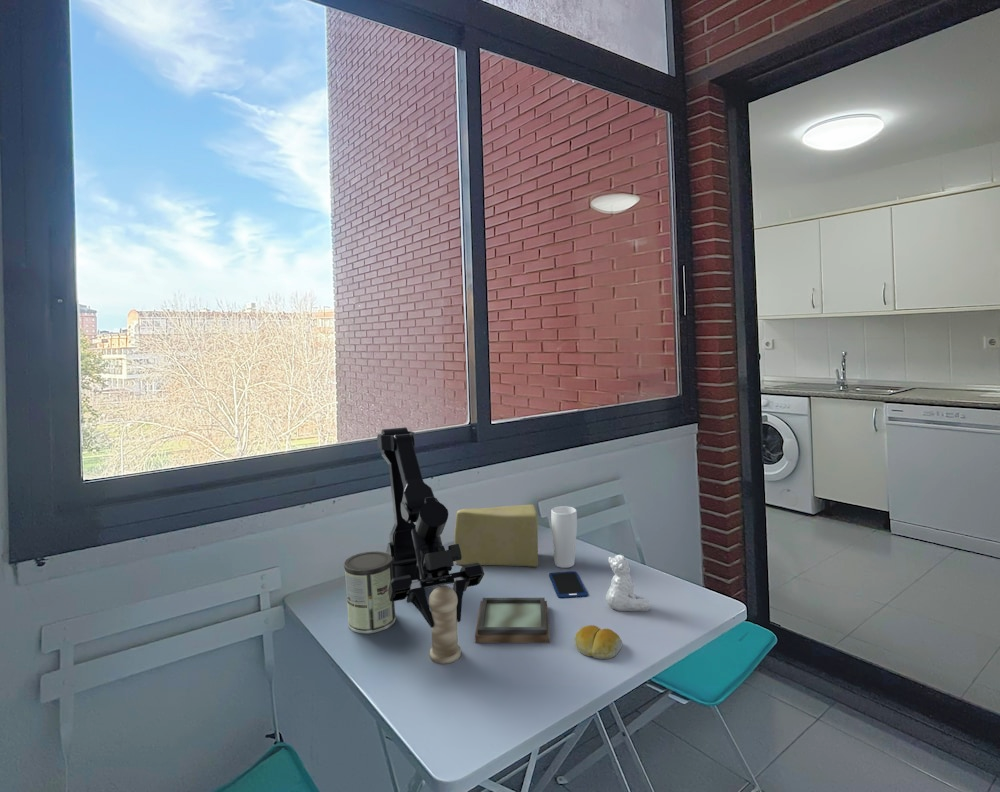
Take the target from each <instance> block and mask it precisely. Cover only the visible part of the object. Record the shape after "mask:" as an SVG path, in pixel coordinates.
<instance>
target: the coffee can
mask: <svg viewBox="0 0 1000 792" xmlns="http://www.w3.org/2000/svg"><path fill="white" fill-rule="evenodd" d="M392 562H393V558H392V556H391V555H390V554H388V553H386V552H385V551H366V552H360V553H357V554H355V555H352V556H349V557H347V559H345V560H344V563H343V568H344V576H345V590H346V591H345V592H346V606H347V617H348V618H347V619H348V621H347V622H348V623H347V624H348V629H350V631H352V632H355V633H358V634H375V633H380V632H382V631H384V630H387V629H389V628H390V627H392V625H394V623H395V622H396V607H395V606H396V605H395V601H393V602H391V601H390V600H389V594H388V588H389V585H390V581H391V580H392V578H393V570H392Z"/></svg>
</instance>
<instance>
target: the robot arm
mask: <svg viewBox="0 0 1000 792" xmlns="http://www.w3.org/2000/svg"><path fill="white" fill-rule="evenodd" d="M415 437H416V435H415V432H414V431H411V430H410V431H409V430H408V428H407V427H405V426H404V427H395V428H383V429H381V432H380V433H379V434H377V435H376V440H377V441H376V442H377V448H378V449H380V455H381V457H383V459H384V461H386V463H387V465H388V470H389V480H390V481H389V482H390V489H391V491H390V492H391V500H392V508H393V509H392V510H393V512H392V513H393V519H394V520H393V521H394V525H393V526H392V528H391V530H390V533H389V537H388V538H389V542H388V543H387V546H386V552H385V553H388V554H390V555H391V556H392V558H393V562H392V570H393V578H392V580H391V581H390V585H389V588H388V594H389V600H390V601H391V602H393V601H394V602H398V601H402V600H403V601H404V600H406V603H412V604H413V606H414V607H415V608H416V609H417V610H418V611H419V612H420V614H421V616H422V617H423V619H425V621H426V623H427V624H428V626H429V627H430V628H433V627H434V624H433V618H432V615H431V609H430V606H429V601H428V600H427V599H428V598H427V593H426V589H429V588H436V587H439V586H447V585H451V584H452V589H453V590H454V591H455V592H456V594H457V598H458V603H457V607H456V609H457V623H459V622H461V620H462V619H461V618H462V607H463V595H464V593H465V592H466V591H467V589H468V588H469V587H474V586H478V585H480V583H481V581H482V579H483V578H484V576H485V571H484V567H483V565H480V564H479V563H473V564H468V565H461V568H460V570H459V571H457V572H451V573H450V571H452V570H453V567H454V566H455V564H454V562H455V561H459V560H461V559H462V556H461V550H460V547H459V544H455V543H453V544H450V545H448V547H447V549H445V546H444V545H443V541H442V538H441V535H442V534H443V531H444V530H445V527H446V524H447V522H448V518H449V510H448V508H447V507H446V506H445V505H444V504H443V503H441V502H440V500H438V498H437V497H435V494H434V492H433V489H432V488H431V486H429V485H428V484H427V483H426V482H425V481H424V478H423V475H422V471H421V468H420V463H419V460H418V456H417V453H416V450H415V447H416V438H415Z"/></svg>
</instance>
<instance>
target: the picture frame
mask: <svg viewBox="0 0 1000 792" xmlns="http://www.w3.org/2000/svg"><path fill="white" fill-rule="evenodd" d="M547 601H548V600H545V597H482V599H481V600H480V602H479V603H480V604H479V609H478V615H477V621H476V628H475V633H474V634H475V635H474V642H475V643H482V644H483V643H484V644H485V643H489V644H492V643H494V644H496V643H497V644H499V643H501V644H502V643H503V644H505V643H506V644H508V643H511V644H512V643H513V644H516V643H518V644H519V643H522V644H525V643H529V644H531V643H537V644H538V643H539V644H541V643H546V644H547V643H548V644H550V629H549V627H550V626H549V615H548V614H549V613H548V602H547Z"/></svg>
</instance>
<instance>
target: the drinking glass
mask: <svg viewBox="0 0 1000 792" xmlns="http://www.w3.org/2000/svg"><path fill="white" fill-rule="evenodd" d="M550 512H551V513H550V521H551V522H550V525H551V536H552V544H553V556H554V557H553V560H554V562H553V563H554V564H555V566H556V567H558V568H562V569H568V568H572V567H573V566H574V565H575V562H576V561H575V558H576V557H575V556H576V544H577V543H576V542H577V530H578V513H577V508H575V507H572V506H563V505H562V506H561V505H560V506H555V507H553V508H551V511H550Z"/></svg>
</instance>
